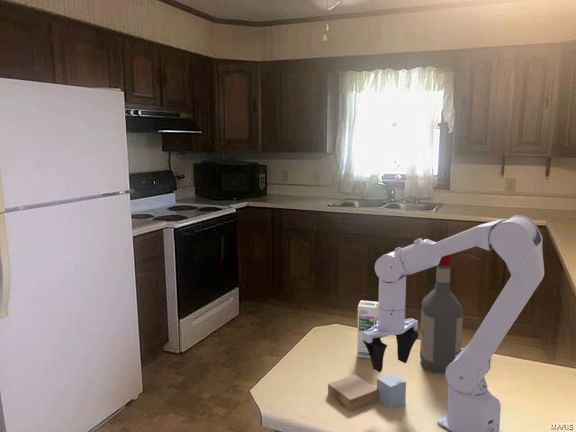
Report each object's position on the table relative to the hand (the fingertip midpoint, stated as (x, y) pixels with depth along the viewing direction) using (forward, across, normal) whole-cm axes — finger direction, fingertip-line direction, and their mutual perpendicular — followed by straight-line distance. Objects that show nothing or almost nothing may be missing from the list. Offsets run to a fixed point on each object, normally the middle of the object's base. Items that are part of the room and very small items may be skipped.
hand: (390, 365), depth 102 cm
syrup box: (+9, -12, -20) cm, 25 cm away
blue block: (+8, 0, 0) cm, 8 cm away
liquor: (+8, -23, -5) cm, 25 cm away
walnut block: (+9, +6, -6) cm, 12 cm away
